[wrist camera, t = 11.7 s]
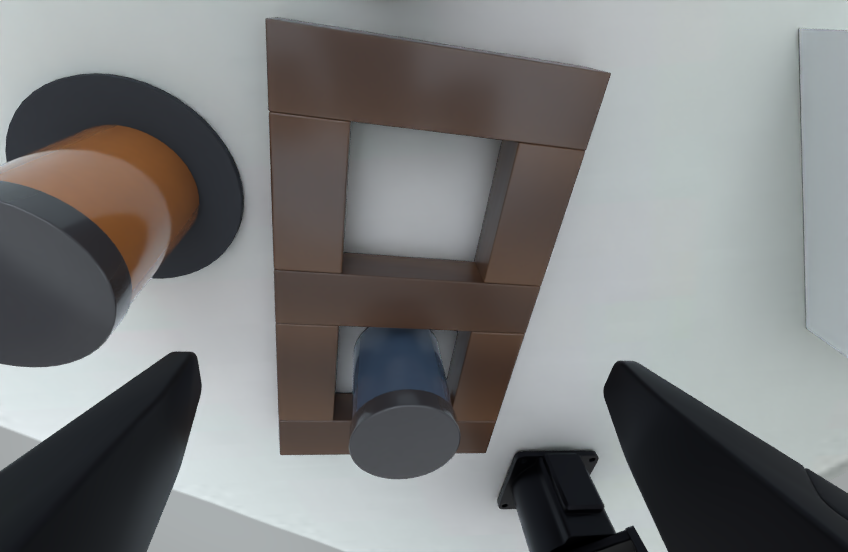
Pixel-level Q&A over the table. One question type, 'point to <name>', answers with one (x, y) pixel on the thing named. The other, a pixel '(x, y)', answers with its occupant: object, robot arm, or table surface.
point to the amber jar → (84, 238)
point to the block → (825, 181)
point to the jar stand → (407, 276)
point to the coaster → (157, 116)
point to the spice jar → (400, 404)
